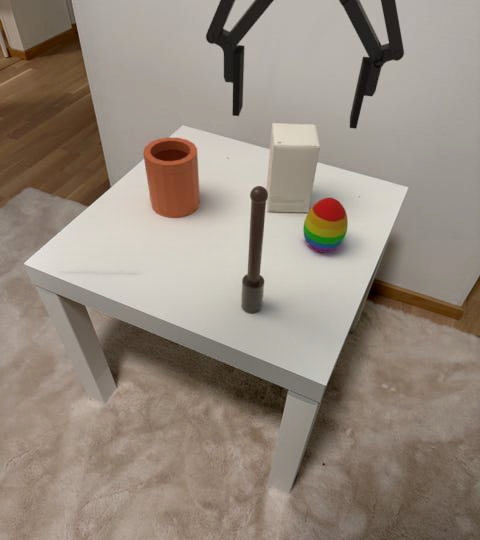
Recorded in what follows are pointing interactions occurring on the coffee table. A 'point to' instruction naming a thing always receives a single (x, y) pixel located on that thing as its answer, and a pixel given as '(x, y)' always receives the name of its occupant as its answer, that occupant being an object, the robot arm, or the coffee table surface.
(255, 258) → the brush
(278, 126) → the rectangular carton
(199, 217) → the coffee table surface
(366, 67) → the robot arm
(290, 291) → the coffee table surface
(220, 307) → the coffee table surface
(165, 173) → the jar
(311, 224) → the decorative egg
